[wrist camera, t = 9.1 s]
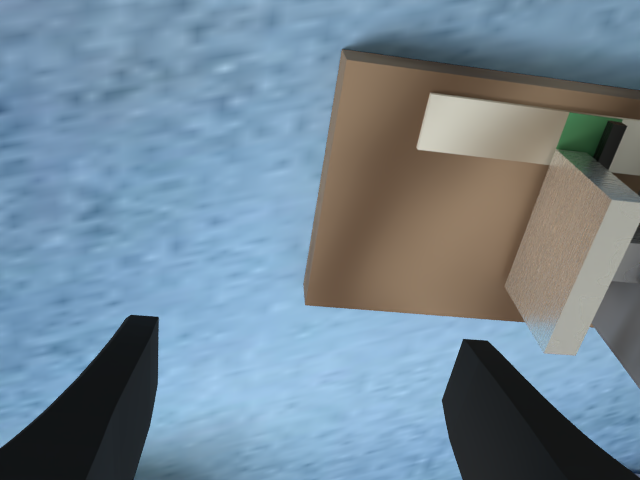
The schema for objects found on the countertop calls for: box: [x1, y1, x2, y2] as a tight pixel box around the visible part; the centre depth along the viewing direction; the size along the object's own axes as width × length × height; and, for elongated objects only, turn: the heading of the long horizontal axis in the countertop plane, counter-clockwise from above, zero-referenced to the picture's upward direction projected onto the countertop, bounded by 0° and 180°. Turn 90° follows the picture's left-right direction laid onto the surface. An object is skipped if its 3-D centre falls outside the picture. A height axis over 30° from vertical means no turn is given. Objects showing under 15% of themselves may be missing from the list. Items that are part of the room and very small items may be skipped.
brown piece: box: [303, 49, 640, 388], centre depth 21 cm, size 20×10×6 cm, turn 82°
